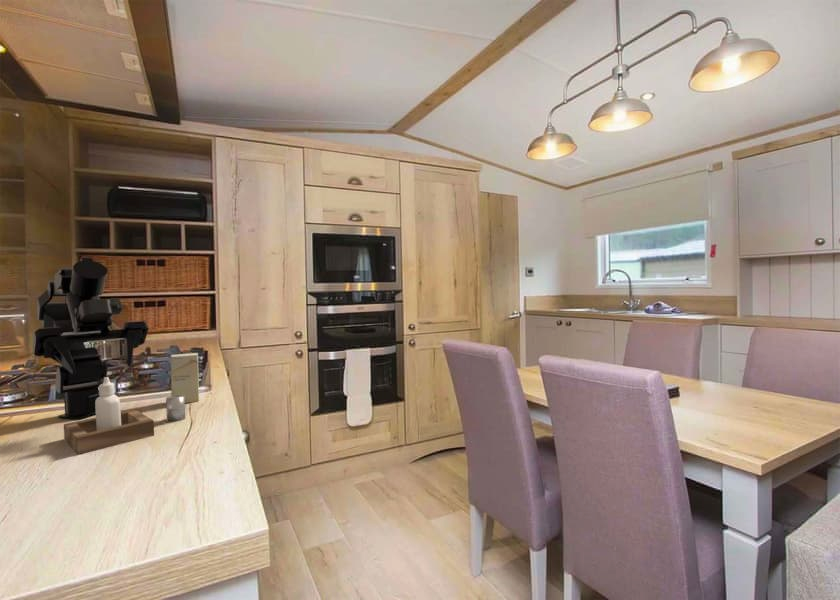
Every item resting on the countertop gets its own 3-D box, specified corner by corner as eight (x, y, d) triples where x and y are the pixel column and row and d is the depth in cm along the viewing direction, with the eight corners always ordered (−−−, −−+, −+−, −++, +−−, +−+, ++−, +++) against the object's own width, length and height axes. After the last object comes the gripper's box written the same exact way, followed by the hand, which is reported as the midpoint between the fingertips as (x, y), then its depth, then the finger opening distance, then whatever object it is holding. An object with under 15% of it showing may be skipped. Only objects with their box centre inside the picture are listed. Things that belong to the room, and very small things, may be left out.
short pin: (162, 421, 92) (161, 399, 92) (175, 416, 96) (174, 394, 96) (176, 422, 91) (175, 399, 91) (189, 417, 95) (188, 395, 95)
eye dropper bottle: (124, 430, 87) (121, 373, 86) (120, 439, 82) (117, 378, 81) (98, 434, 85) (95, 376, 84) (93, 444, 80) (89, 381, 79)
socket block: (64, 439, 82) (63, 424, 82) (135, 422, 92) (134, 409, 91) (78, 454, 75) (77, 438, 75) (154, 435, 84) (153, 420, 84)
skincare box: (171, 405, 105) (169, 357, 104) (172, 400, 109) (170, 354, 108) (199, 401, 108) (197, 354, 107) (199, 397, 112) (198, 352, 111)
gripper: (31, 286, 80) (45, 349, 73) (143, 285, 94) (163, 337, 87) (27, 325, 85) (39, 387, 79) (134, 318, 99) (152, 369, 93)
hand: (103, 368), depth 84 cm, fingers open, 9 cm apart
